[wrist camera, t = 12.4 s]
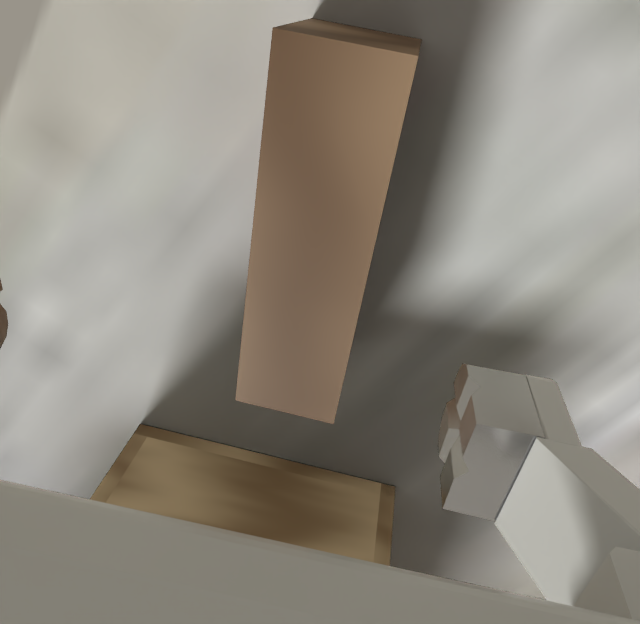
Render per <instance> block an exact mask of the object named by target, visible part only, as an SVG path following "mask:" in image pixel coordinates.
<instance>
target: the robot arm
mask: <svg viewBox="0 0 640 624" xmlns="http://www.w3.org/2000/svg"><path fill="white" fill-rule="evenodd" d="M2 290H3V289H2V284H1V280H0V292H1V291H2ZM7 328H8V320H7V313H6V310H5V309H4V308H3V307H2V305H1V304H0V348H1V346H2V344H3V342H4V340H5V338H6V336H7ZM454 390H455V398H453V399H452V400H450V401H449V402H447V403H446V406H445V409H444V412H443V416H442V419H441V424H440V429H439V436H438V455H439V458H440V459H441V460H442V461H443V462H444V467H443V470H442V472H441V475H440V484H441V497H442V509H446V510H450V511H454V512H458V513H462V514H466V515H470V516H475V517H479V518H483V519H487V520H491V521H495V525H496V527H497V528H498V530H499V531H500V533H501V534H502V536H503V537H504V539H505V540H506V541H507V543H508V544H509V546H510V547H511V549H512V550H513V552H514V553H515V555H516V556H517V558H518V559H519V561H520V562H521V564H522V565H523V566H524V568H525V569H526V571H527V572H528V574H529V575H530V577H531V578H532V580H533V581H534V583H535V584H536V586H537V587H538V589H539V590H540V591H541V593H542V594H543V596H544V597H545V599H546V600H543V599H539V598H534V597H530V596H525V595H521V594H516V593H512V592H507V591H503V590H498V589H493V588H489V587H484V586H480V585H475V584H471V583H466V582H461V581H457V580H452V579H448V578H443V577H438V576H434V575H429V574H425V573H420V572H415V571H411V570H406V569H401V568H397V567H392V566H388V565H383V564H378V563H374V562H369V561H365V560H360V559H356V558H351V557H347V556H342V555H338V554H333V553H329V552H324V551H320V550H315V549H311V548H306V547H302V546H298V545H293V544H289V543H284V542H280V541H275V540H271V539H266V538H262V537H257V536H253V535H248V534H244V533H239V532H235V531H230V530H226V529H221V528H217V527H212V526H208V525H203V524H199V523H194V522H190V521H185V520H181V519H176V518H172V517H167V516H163V515H158V514H154V513H149V512H145V511H140V510H136V509H131V508H126V507H122V506H117V505H113V504H108V503H104V502H99V501H95V500H90V499H85V498H81V497H76V496H72V495H67V494H63V493H58V492H54V491H49V490H44V489H40V488H35V487H31V486H26V485H22V484H17V483H13V482H8V481H3V480H0V624H640V489H638V488H637V487H636V486H635V485H634V484H633V483H631V482H630V481H629V480H628V479H627V478H625V477H624V476H623V475H622V474H621V473H620V472H618V471H617V470H616V469H615V468H614V467H613V466H611V465H610V464H609V463H608V462H607V461H606V460H604V459H603V458H602V457H601V456H600V455H599V454H597V453H596V452H595V451H594V450H593V449H591V448H586V447H582V445H581V442H580V440H579V437H578V435H577V432H576V430H575V427H574V425H573V422H572V420H571V417H570V415H569V412H568V410H567V407H566V405H565V402H564V400H563V397H562V395H561V392H560V390H559V387H558V385H557V383H556V382H555V381H554V380H553V379H548V378H542V377H536V376H530V375H524V374H517V373H512V372H506V371H501V370H495V369H490V368H484V367H479V366H473V365H468V364H462V365H461V367H460V368H459V370H458V372H457V375H456V378H455V381H454Z"/></svg>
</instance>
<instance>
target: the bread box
mask: <svg viewBox="0 0 640 624" xmlns="http://www.w3.org/2000/svg"><path fill="white" fill-rule="evenodd" d="M90 500H95V501H99V502H104V503H108V504H113V505H117V506H122V507H126V508H131V509H136V510H140V511H145V512H149V513H154V514H158V515H163V516H167V517H172V518H176V519H181V520H185V521H190V522H194V523H199V524H203V525H208V526H212V527H217V528H221V529H226V530H230V531H235V532H239V533H244V534H248V535H253V536H257V537H262V538H266V539H271V540H275V541H280V542H284V543H289V544H293V545H298V546H302V547H306V548H311V549H315V550H320V551H324V552H329V553H333V554H338V555H342V556H347V557H351V558H356V559H360V560H365V561H369V562H374V563H378V564H383V565H388V566H390V556H391V542H392V528H393V514H394V500H395V487H394V486H390V485H386V484H382V483H378V482H374V481H370V480H366V479H362V478H358V477H354V476H350V475H346V474H341V473H337V472H333V471H329V470H325V469H321V468H317V467H313V466H309V465H305V464H301V463H297V462H293V461H289V460H285V459H281V458H277V457H273V456H268V455H264V454H260V453H256V452H252V451H248V450H244V449H240V448H236V447H232V446H228V445H224V444H220V443H216V442H212V441H208V440H204V439H200V438H195V437H191V436H187V435H183V434H179V433H175V432H171V431H167V430H163V429H159V428H155V427H151V426H147V425H143V424H140V425H139V426H138V428H137V429H136V431H135V432H134V434H133V435H132V437H131V438H130V440H129V441H128V443H127V444H126V446H125V447H124V449H123V450H122V452H121V453H120V455H119V456H118V458H117V459H116V461H115V462H114V464H113V465H112V467H111V468H110V470H109V471H108V473H107V474H106V476H105V477H104V479H103V480H102V482H101V483H100V485H99V486H98V488H97V489H96V491H95V492H94V494H93V495H92V497H91V498H90Z"/></svg>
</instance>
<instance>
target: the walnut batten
mask: <svg viewBox="0 0 640 624" xmlns="http://www.w3.org/2000/svg"><path fill="white" fill-rule="evenodd" d="M421 41H422V39H417V38H412V37H407V36H401V35H396V34H391V33H386V32H381V31H375V30H370V29H365V28H360V27H355V26H350V25H344V24H339V23H334V22H329V21H324V20H318V19H313V18H311V19H307V20H303V21H299V22H294V23H290V24H286V25H282V26H278V27H273V31H272V40H271V50H270V60H269V70H268V80H267V90H266V100H265V110H264V120H263V130H262V140H261V150H260V159H259V169H258V179H257V189H256V199H255V209H254V219H253V229H252V239H251V249H250V259H249V269H248V278H247V288H246V298H245V308H244V318H243V328H242V338H241V348H240V358H239V368H238V378H237V388H236V398H235V400H236V401H240V402H244V403H248V404H252V405H256V406H261V407H265V408H269V409H273V410H277V411H281V412H285V413H289V414H294V415H298V416H302V417H306V418H310V419H314V420H318V421H322V422H327V423H331V424H334V420H335V416H336V411H337V407H338V403H339V398H340V394H341V390H342V385H343V381H344V377H345V372H346V368H347V364H348V359H349V355H350V351H351V346H352V342H353V338H354V333H355V329H356V325H357V320H358V316H359V312H360V307H361V303H362V299H363V294H364V290H365V286H366V281H367V277H368V273H369V268H370V264H371V260H372V255H373V251H374V247H375V242H376V238H377V234H378V229H379V225H380V221H381V216H382V212H383V208H384V203H385V199H386V195H387V190H388V186H389V182H390V177H391V173H392V169H393V164H394V160H395V156H396V151H397V147H398V143H399V138H400V134H401V130H402V125H403V121H404V117H405V112H406V108H407V104H408V99H409V95H410V91H411V86H412V82H413V78H414V73H415V69H416V65H417V60H418V56H419V51H420V46H421Z"/></svg>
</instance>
